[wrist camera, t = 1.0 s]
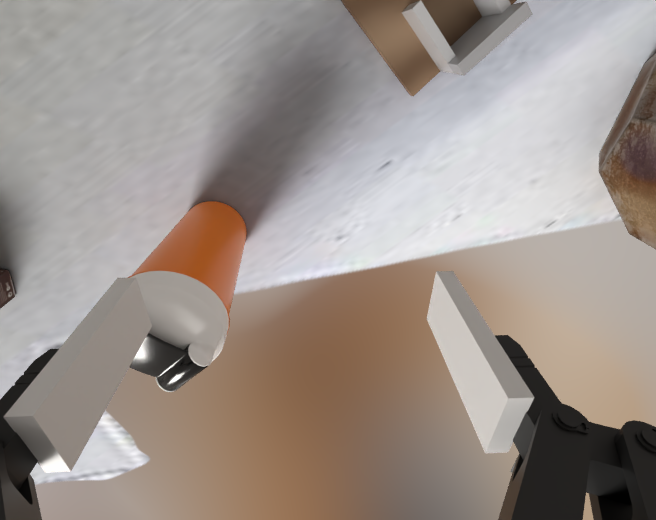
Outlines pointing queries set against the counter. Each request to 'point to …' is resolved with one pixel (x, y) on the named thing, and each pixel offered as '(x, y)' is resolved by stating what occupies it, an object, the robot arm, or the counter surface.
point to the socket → (467, 33)
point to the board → (411, 33)
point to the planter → (634, 158)
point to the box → (6, 287)
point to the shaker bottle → (190, 293)
